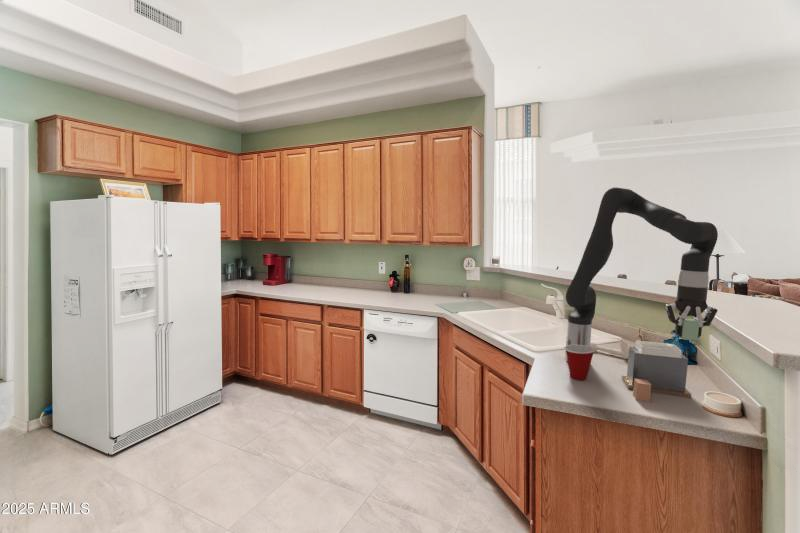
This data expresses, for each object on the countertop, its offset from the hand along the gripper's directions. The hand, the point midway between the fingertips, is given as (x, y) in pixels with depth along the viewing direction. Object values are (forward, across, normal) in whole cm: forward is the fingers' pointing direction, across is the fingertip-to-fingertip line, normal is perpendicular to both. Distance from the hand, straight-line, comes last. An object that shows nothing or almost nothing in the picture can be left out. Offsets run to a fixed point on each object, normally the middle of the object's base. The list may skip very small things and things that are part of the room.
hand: (687, 336), depth 121 cm
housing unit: (+23, -4, +12) cm, 26 cm away
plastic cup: (+23, -30, +12) cm, 40 cm away
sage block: (+1, 0, 0) cm, 1 cm away
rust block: (+23, -11, 0) cm, 26 cm away
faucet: (+24, -13, +47) cm, 54 cm away
